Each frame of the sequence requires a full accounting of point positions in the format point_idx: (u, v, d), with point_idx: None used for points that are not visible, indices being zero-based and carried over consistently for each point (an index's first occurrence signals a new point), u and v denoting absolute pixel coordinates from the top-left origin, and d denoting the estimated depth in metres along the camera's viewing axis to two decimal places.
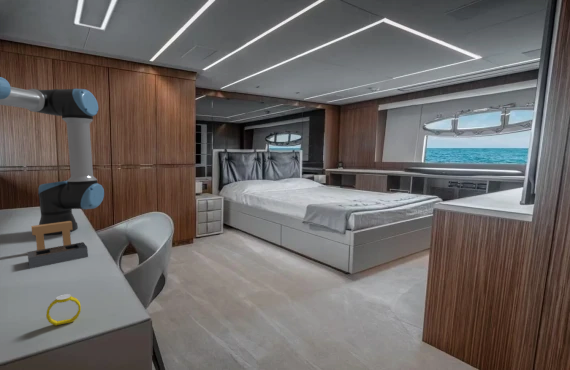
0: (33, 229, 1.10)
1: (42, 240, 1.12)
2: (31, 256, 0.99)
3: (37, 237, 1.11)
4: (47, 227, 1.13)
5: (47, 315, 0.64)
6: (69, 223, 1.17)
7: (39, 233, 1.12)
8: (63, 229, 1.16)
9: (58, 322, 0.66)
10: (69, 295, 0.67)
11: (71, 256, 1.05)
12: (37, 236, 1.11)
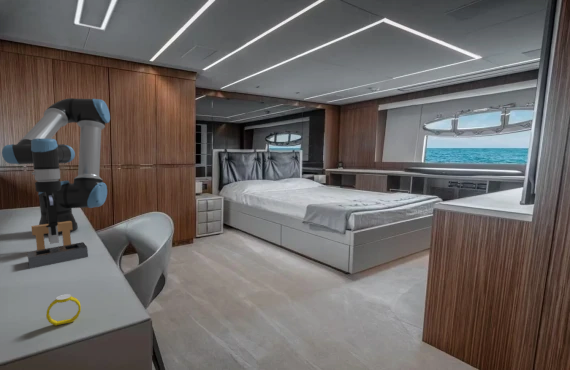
0: (33, 229, 1.10)
1: (42, 240, 1.12)
2: (31, 256, 0.99)
3: (37, 237, 1.11)
4: (47, 227, 1.13)
5: (47, 315, 0.64)
6: (69, 223, 1.17)
7: (39, 233, 1.12)
8: (63, 229, 1.16)
9: (58, 322, 0.66)
10: (69, 295, 0.67)
11: (71, 256, 1.05)
12: (37, 236, 1.11)
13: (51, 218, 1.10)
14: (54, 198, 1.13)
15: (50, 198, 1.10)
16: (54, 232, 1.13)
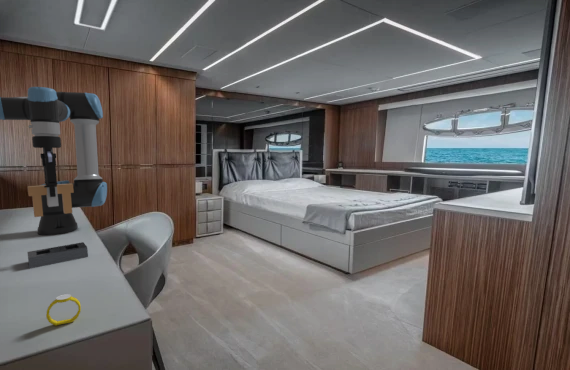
0: (29, 189, 0.98)
1: (39, 202, 1.00)
2: (31, 256, 0.99)
3: (34, 199, 0.99)
4: (45, 188, 1.01)
5: (47, 315, 0.64)
6: (70, 185, 1.05)
7: (36, 194, 0.99)
8: (63, 191, 1.04)
9: (58, 322, 0.66)
10: (69, 295, 0.67)
11: (71, 256, 1.05)
12: (34, 197, 0.99)
13: (50, 177, 0.98)
14: (53, 156, 1.01)
15: (49, 154, 0.98)
16: (53, 193, 1.01)
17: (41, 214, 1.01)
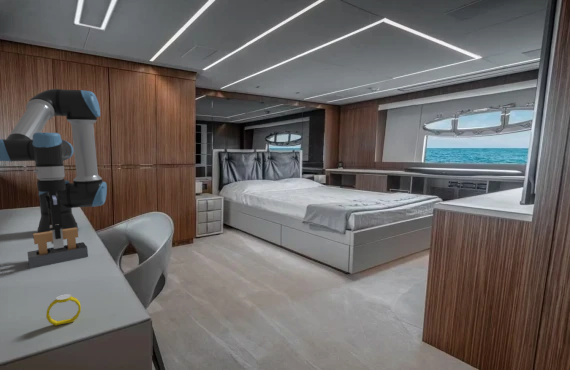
0: (35, 237, 1.00)
1: (45, 249, 1.02)
2: (31, 256, 0.99)
3: (40, 246, 1.01)
4: (50, 235, 1.03)
5: (47, 315, 0.64)
6: (74, 230, 1.07)
7: (42, 241, 1.01)
8: (68, 237, 1.06)
9: (58, 322, 0.66)
10: (69, 295, 0.67)
11: (71, 256, 1.05)
12: (40, 245, 1.01)
13: (55, 219, 0.99)
14: None
15: (54, 197, 0.99)
16: (58, 236, 1.01)
17: None
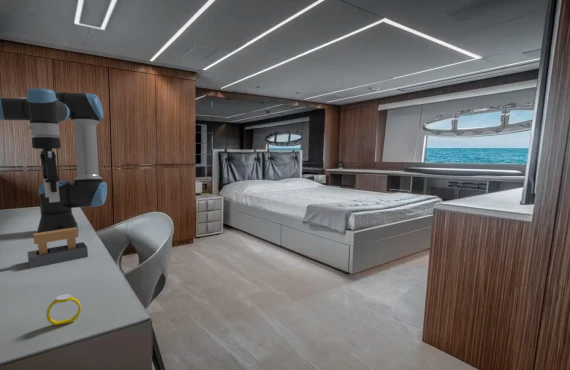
0: (35, 237, 1.00)
1: (45, 249, 1.02)
2: (31, 256, 0.99)
3: (40, 246, 1.01)
4: (50, 235, 1.03)
5: (47, 315, 0.64)
6: (74, 230, 1.07)
7: (42, 241, 1.01)
8: (68, 237, 1.06)
9: (58, 322, 0.66)
10: (69, 295, 0.67)
11: (71, 256, 1.05)
12: (40, 245, 1.01)
13: (50, 171, 0.97)
14: None
15: (48, 152, 0.99)
16: (54, 189, 0.98)
17: None
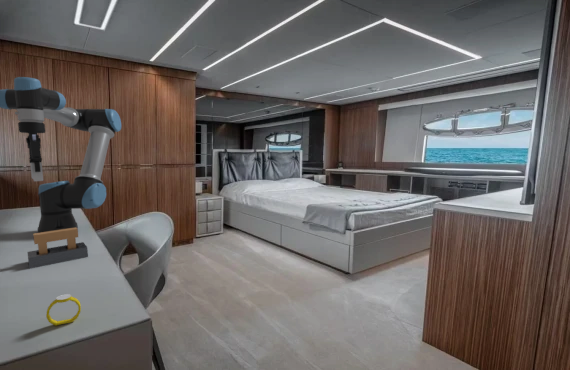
0: (35, 237, 1.00)
1: (45, 249, 1.02)
2: (31, 256, 0.99)
3: (40, 246, 1.01)
4: (50, 235, 1.03)
5: (47, 315, 0.64)
6: (74, 230, 1.07)
7: (42, 241, 1.01)
8: (68, 237, 1.06)
9: (58, 322, 0.66)
10: (69, 295, 0.67)
11: (71, 256, 1.05)
12: (40, 245, 1.01)
13: (34, 152, 1.06)
14: None
15: None
16: (38, 169, 1.07)
17: None
